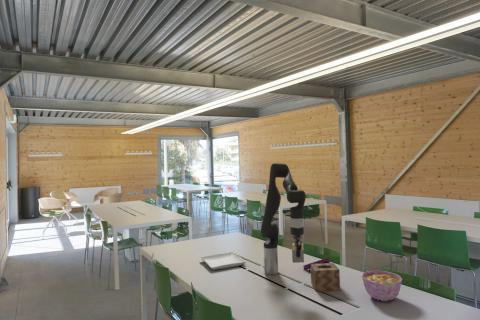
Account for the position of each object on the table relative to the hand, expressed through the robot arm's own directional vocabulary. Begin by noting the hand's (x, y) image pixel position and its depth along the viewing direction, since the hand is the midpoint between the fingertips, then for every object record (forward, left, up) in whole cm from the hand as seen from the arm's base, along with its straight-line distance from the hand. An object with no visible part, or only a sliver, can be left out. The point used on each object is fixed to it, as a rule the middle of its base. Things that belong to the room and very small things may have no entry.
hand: (297, 256), depth 188 cm
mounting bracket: (+18, +37, -22) cm, 47 cm away
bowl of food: (+43, -9, -22) cm, 49 cm away
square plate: (-46, +60, -22) cm, 79 cm away
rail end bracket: (0, 0, -3) cm, 3 cm away
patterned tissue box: (+17, +9, -22) cm, 29 cm away
